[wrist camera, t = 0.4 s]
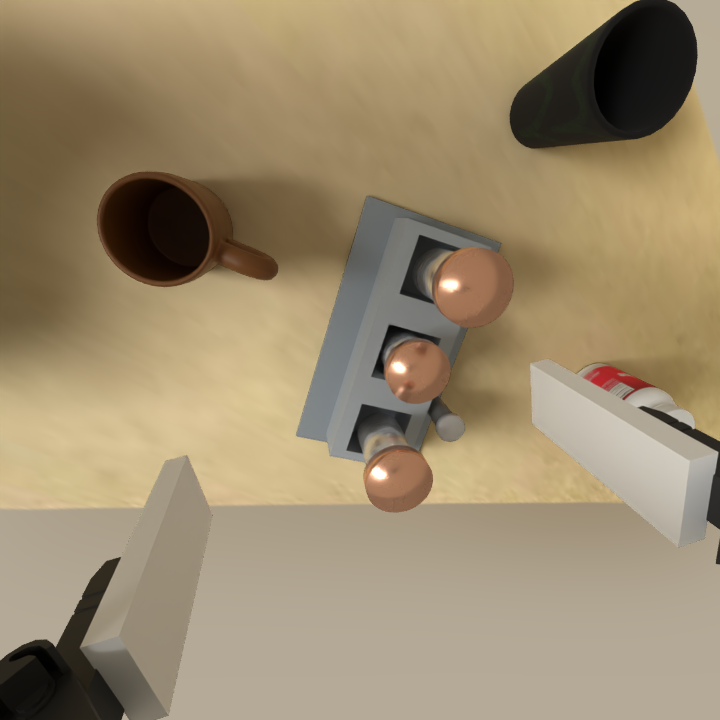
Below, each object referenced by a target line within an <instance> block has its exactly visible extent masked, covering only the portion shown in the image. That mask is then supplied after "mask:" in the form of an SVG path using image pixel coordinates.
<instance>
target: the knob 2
mask: <svg viewBox="0 0 720 720" xmlns="http://www.w3.org/2000/svg"><path fill="white" fill-rule="evenodd" d="M412 277H413V282H414V285H415V287H416V288H417V290H418V291H419V292H421V293H422V294H423V295H425V296H427V297H428V298H430V299H432V300H433V301H434V304H435V306H436V308H437V309H438V311H439V312H440V313H441V314H442V315H443V316H444V317H446V318H447V319H449V320H450V321H452V322H453V323H455V324H457V325H459V326H462V327H467V328H476V327H481V326H484V325H486V324H488V323H490V322H492V321H494V320H495V319H496V318H497V317H499V316H500V315H501V314H502V312H503V311H504V310H505V308H506V307H507V305H508V303H509V301H510V299H511V296H512V292H513V285H514V283H513V274H512V271H511V268H510V266H509V264H508V263H507V261H506V260H505V259H504V258H503V257H502V256H501V255H500V254H498V253H497V252H494V251H492V250H489V249H484V248H478V247H466V248H462V249H459V250H457V251H455V252H454V251H450V250H445V249H440V248H435V249H430V250H428V251H426V252H424V253H423V254H422V255H421V256H420V257H419V258H418V259H417V261H416V262H415V264H414V267H413V272H412Z"/></svg>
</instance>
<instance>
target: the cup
mask: <svg viewBox="0 0 720 720" xmlns="http://www.w3.org/2000/svg"><path fill="white" fill-rule="evenodd" d="M696 41H697V40H696V37H695V33H694V30H693V26H692V24H691V23H690V21H689V19H688V17H687V16H686V14H685V12H683V11H682V10H681V9H680V8H679V7H678V6H677V5H676V4H675V3H672V2H670V1H668V0H639V1H636V2H634V3H632V4H631V5H629V6H627V7H626V8H624V9H622V10H621V11H620V12H618V13H617V14H616V15H614V16H613V17H612V18H611V19H609V20H608V21H607V22H605V23H604V24H603V25H602V26H600V27H599V28H598V29H596V30H595V31H594V32H593V33H591V34H590V35H589V36H587V37H586V38H585V39H584V40H582V41H581V42H580V43H578V44H577V45H576V46H575V47H573V48H572V49H571V50H569V51H568V52H567V53H566V54H564V55H563V56H562V57H560V58H559V59H558V60H557V61H555V62H554V63H553V64H551V65H550V66H549V67H547V68H546V69H545V70H544V71H542V72H541V73H540V74H538V75H537V76H536V77H535V78H533V79H532V80H531V81H529V82H528V83H527V84H526V85H524V86H523V87H522V88H521V89H520V90H519V92H518V93H517V95H516V96H515V98H514V101H513V103H512V106H511V111H510V125H511V129H512V132H513V134H514V136H515V138H516V139H517V140H518V141H519V142H520V143H521V144H522V145H524V146H526V147H529V148H545V147H556V146H566V145H577V144H588V143H598V142H609V141H619V140H630V139H638V138H642V137H645V136H648V135H651V134H653V133H654V132H656V131H658V130H659V129H661V128H662V127H664V126H665V125H666V124H667V123H668V122H669V121H670V120H671V119H672V118H673V117H674V116H675V114H676V113H677V112H678V110H679V109H680V108H681V106H682V105H683V103H684V101H685V99H686V97H687V95H688V93H689V91H690V89H691V86H692V82H693V79H694V76H695V72H696V65H697V42H696Z"/></svg>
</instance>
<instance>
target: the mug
mask: <svg viewBox="0 0 720 720" xmlns="http://www.w3.org/2000/svg"><path fill="white" fill-rule="evenodd" d="M97 226H98V233H99V237H100V240H101V243H102V245H103V247H104V249H105V251H106V253H107V254H108V256H109V257H110V259H111V260H112V261H113V262H114V263H115V265H116V266H117V267H118V268H120V269H121V270H122V271H123V272H124V273H126V274H127V275H129V276H130V277H132V278H134V279H135V280H137V281H140V282H142V283H145V284H148V285H152V286H158V287H171V286H177V285H182V284H185V283H188V282H191V281H193V280H195V279H197V278H199V277H201V276H202V275H204V274H205V273H207V272H208V271H209V270H211V269H212V268H213V267H215V266H216V265H217V264H220V265H222V266H225V267H227V268H229V269H231V270H234V271H236V272H238V273H241V274H243V275H246V276H249V277H252V278H256V279H261V280H270V279H272V278H273V277H275V276H276V274H277V273H278V265H277V263H276V262H275V260H274V259H273V258H271V257H270V256H268V255H266V254H264V253H262V252H260V251H258V250H256V249H253V248H251V247H248V246H246V245H243V244H241V243H239V242H236V241H234V240H232V235H233V230H232V222H231V219H230V216H229V213H228V211H227V209H226V207H225V206H224V204H223V203H222V202H221V200H220V199H219V198H218V197H217V196H216V195H215V194H214V193H213V192H211V191H210V190H209V189H207V188H206V187H204V186H202V185H200V184H198V183H195V182H192V181H190V180H187V179H184V178H181V177H178V176H176V175H172V174H168V173H163V172H138V173H133V174H130V175H127V176H125V177H123V178H121V179H119V180H118V181H116V182H115V183H114V184H113V185H112V186H111V187H110V188H109V189H108V190H107V191H106V193H105V194H104V196H103V198H102V200H101V202H100V205H99V209H98V215H97Z"/></svg>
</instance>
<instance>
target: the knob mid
mask: <svg viewBox="0 0 720 720" xmlns="http://www.w3.org/2000/svg"><path fill="white" fill-rule="evenodd" d="M378 356H379V358H380V360H381V361H382V363H383V365H384V376H385V380H386V382H387V384H388V386H389V388H390V389H391V391H392V393H393V394H394V395H395V396H396V397H397V398H398V399H400V400H402V401H404V402H406V403H411V404H421V403H425V402H428V401H430V400H432V399H434V398H436V397H437V396H438V395H439V394H440V393H441V392H442V391H443V390H444V389H445V387H446V385H447V383H448V381H449V378H450V373H451V367H450V362H449V359H448V357H447V355H446V354H445V353H444V352H443V351H442V350H441V349H440V348H439V347H438V346H437V345H436V344H434V343H433V342H431V341H429V340H426V339H422V338H418V337H417V336H416V335H415V334H414V333H413V332H412V331H411V330H409V329H405V328H401V327H398V326H394V325H390V326H388V329H387V331H386V334H385V337H384V340H383V343H382V346H381V349H380V352H379V355H378Z"/></svg>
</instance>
